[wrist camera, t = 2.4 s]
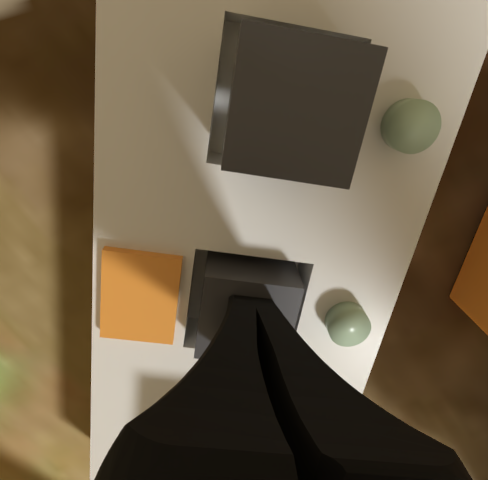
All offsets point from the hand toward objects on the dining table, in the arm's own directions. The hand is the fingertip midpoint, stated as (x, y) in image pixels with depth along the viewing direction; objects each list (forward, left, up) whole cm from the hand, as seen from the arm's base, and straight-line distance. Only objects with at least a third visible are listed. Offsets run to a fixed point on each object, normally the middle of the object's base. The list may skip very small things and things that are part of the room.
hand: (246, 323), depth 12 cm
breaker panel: (0, 0, -4) cm, 4 cm away
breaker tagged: (0, 0, -2) cm, 2 cm away
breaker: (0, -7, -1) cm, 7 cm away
